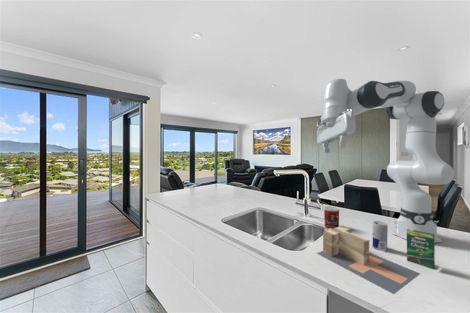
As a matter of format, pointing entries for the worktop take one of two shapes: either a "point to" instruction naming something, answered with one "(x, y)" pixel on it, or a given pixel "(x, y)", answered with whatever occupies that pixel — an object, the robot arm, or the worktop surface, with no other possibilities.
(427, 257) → the coffee box
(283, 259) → the worktop surface
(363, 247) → the t block
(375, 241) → the energy drink
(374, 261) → the mat
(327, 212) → the canned food
